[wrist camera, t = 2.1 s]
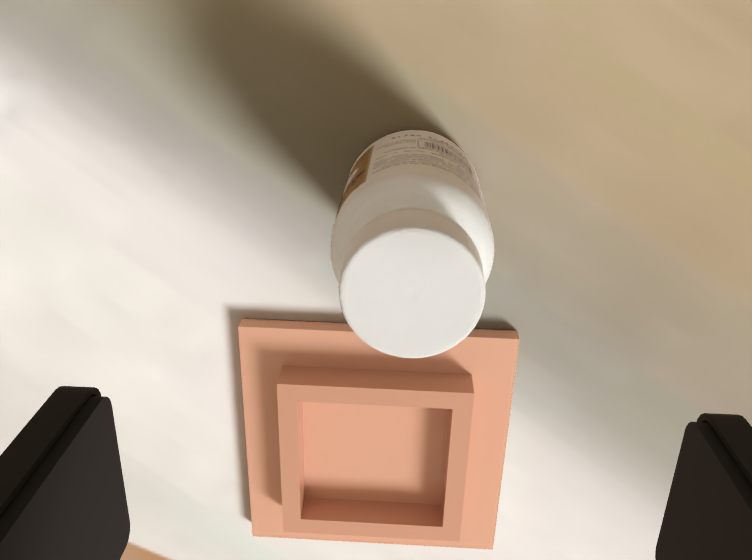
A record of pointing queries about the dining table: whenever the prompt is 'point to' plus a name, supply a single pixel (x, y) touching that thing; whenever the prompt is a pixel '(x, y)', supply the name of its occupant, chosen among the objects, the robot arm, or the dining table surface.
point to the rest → (374, 435)
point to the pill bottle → (412, 245)
